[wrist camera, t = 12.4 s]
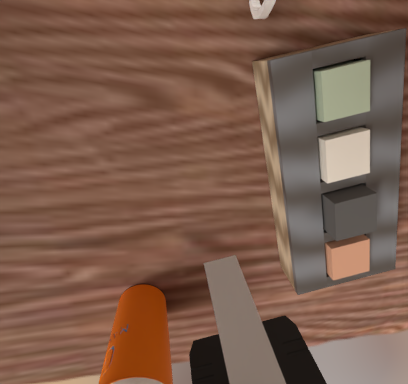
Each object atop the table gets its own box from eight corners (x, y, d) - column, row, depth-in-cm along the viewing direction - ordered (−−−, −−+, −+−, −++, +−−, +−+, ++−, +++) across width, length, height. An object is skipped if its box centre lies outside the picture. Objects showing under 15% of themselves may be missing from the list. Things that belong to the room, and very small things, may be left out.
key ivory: (308, 133, 36) (325, 140, 32) (348, 123, 36) (370, 129, 33) (311, 172, 38) (327, 183, 34) (349, 162, 38) (369, 172, 35)
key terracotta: (316, 233, 42) (331, 249, 38) (351, 224, 42) (369, 239, 38) (318, 262, 44) (333, 280, 40) (352, 253, 44) (369, 270, 40)
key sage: (303, 71, 33) (321, 71, 30) (347, 60, 34) (370, 59, 30) (307, 116, 35) (324, 122, 32) (348, 106, 35) (370, 111, 32)
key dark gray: (317, 190, 38) (334, 204, 34) (356, 180, 38) (377, 193, 34) (320, 225, 40) (336, 241, 36) (356, 215, 40) (376, 230, 36)
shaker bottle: (175, 280, 46) (185, 422, 28) (167, 325, 49) (171, 479, 31) (114, 276, 44) (82, 424, 26) (110, 323, 48) (78, 485, 29)
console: (252, 61, 36) (270, 60, 30) (365, 34, 36) (406, 28, 30) (280, 266, 48) (297, 294, 42) (366, 243, 48) (395, 268, 42)
